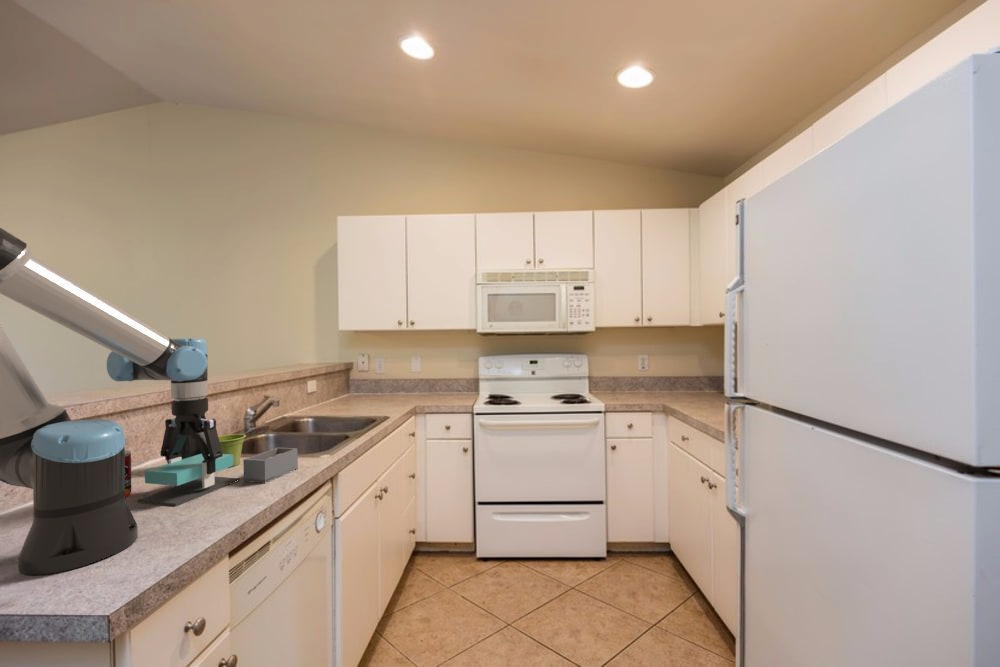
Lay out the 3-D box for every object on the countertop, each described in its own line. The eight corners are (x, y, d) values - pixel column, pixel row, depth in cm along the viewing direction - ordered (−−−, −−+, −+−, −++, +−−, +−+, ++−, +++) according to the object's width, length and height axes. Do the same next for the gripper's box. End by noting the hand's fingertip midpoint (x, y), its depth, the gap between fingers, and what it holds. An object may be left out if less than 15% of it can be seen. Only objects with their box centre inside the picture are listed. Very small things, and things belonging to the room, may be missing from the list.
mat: (176, 506, 94) (176, 503, 94) (137, 502, 97) (137, 499, 97) (239, 480, 110) (239, 478, 110) (204, 477, 113) (204, 475, 113)
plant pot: (220, 461, 128) (219, 434, 128) (251, 460, 129) (251, 433, 129) (202, 471, 119) (201, 442, 119) (236, 469, 120) (235, 440, 120)
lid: (233, 465, 110) (233, 454, 110) (177, 485, 95) (176, 473, 95) (204, 463, 112) (203, 452, 112) (145, 483, 98) (144, 470, 98)
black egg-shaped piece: (206, 460, 130) (205, 413, 130) (209, 467, 122) (208, 417, 122) (165, 467, 124) (164, 417, 124) (165, 475, 116) (164, 422, 116)
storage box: (297, 468, 119) (297, 448, 119) (265, 483, 108) (264, 460, 108) (278, 467, 121) (277, 447, 121) (243, 481, 109) (243, 459, 109)
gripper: (238, 396, 105) (240, 482, 104) (171, 395, 110) (172, 477, 110) (211, 401, 97) (213, 493, 97) (140, 400, 103) (142, 487, 103)
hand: (191, 484), depth 104 cm, fingers closed on lid, 10 cm apart
